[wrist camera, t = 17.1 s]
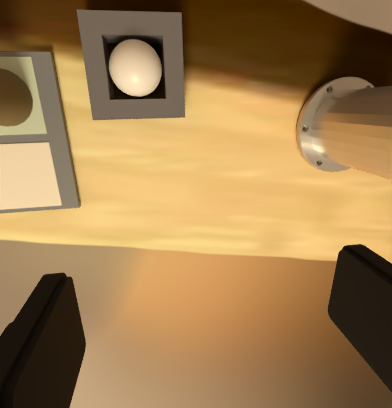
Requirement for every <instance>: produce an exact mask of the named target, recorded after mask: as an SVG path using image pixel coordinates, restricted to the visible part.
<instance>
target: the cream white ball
mask: <svg viewBox="0 0 392 408" xmlns="http://www.w3.org/2000/svg"><path fill="white" fill-rule="evenodd" d="M109 70H110V74H111V77H112V79H113V81H114V83H115V84H116V86H117V87H118V88H119V89H120V90H122V91H123V92H124V93H126V94H128V95H131V96H135V97H143V96H146V95H149V94H150V93H152V92H153V91H154V90H155V89H156V87H157V86H158V84H159V82H160V79H161V73H162V67H161V62H160V59H159V57H158V55H157V53H156V51H155V50H154V49H153V48H152V47H151V46H150V45H149V44H147V43H146V42H144V41H141V40H137V39H129V40H125V41H123V42H121V43H119V44H118V45H117V46H116V47H115V48H114V50H113V51H112V53H111V56H110V60H109Z"/></svg>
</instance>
